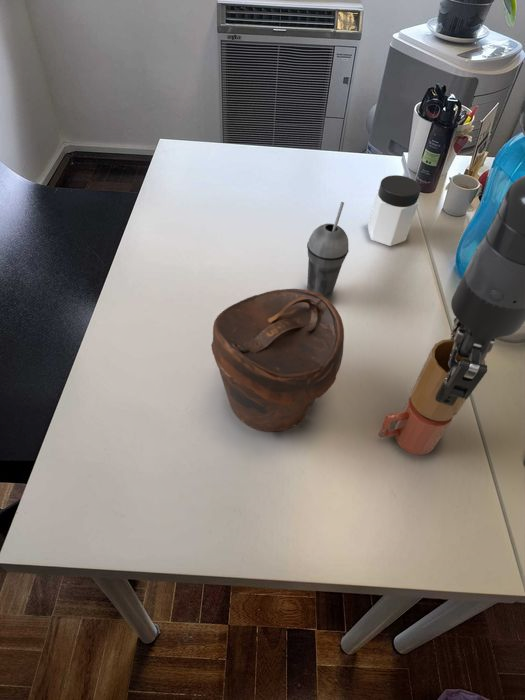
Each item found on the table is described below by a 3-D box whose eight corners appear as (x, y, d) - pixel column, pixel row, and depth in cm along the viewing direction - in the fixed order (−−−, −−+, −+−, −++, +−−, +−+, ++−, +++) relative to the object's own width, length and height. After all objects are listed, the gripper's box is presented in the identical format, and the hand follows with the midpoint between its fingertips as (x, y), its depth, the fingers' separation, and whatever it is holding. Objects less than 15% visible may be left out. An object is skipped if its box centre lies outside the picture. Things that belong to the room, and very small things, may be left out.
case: (335, 359, 80) (356, 279, 66) (320, 464, 67) (343, 390, 53) (233, 340, 82) (233, 257, 68) (199, 439, 69) (192, 361, 55)
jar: (408, 247, 102) (426, 197, 93) (371, 246, 101) (385, 196, 92) (399, 223, 108) (415, 174, 99) (364, 222, 107) (377, 173, 98)
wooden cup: (446, 380, 66) (470, 337, 59) (466, 418, 62) (495, 376, 55) (403, 384, 65) (423, 341, 59) (421, 423, 61) (444, 382, 54)
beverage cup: (293, 288, 91) (305, 195, 76) (326, 280, 93) (345, 188, 78) (309, 313, 87) (326, 220, 72) (344, 304, 89) (367, 212, 74)
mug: (425, 416, 73) (443, 386, 67) (441, 452, 69) (462, 423, 63) (368, 423, 72) (381, 393, 66) (382, 460, 68) (396, 431, 62)
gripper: (544, 340, 42) (472, 435, 55) (540, 250, 51) (480, 349, 64) (459, 316, 44) (408, 414, 56) (470, 233, 53) (424, 333, 65)
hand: (446, 379), depth 60 cm, fingers closed on wooden cup, 6 cm apart
